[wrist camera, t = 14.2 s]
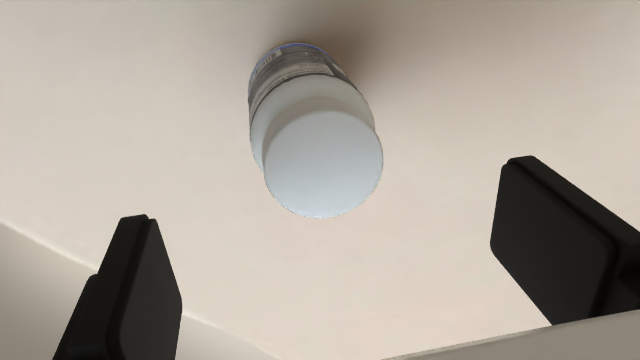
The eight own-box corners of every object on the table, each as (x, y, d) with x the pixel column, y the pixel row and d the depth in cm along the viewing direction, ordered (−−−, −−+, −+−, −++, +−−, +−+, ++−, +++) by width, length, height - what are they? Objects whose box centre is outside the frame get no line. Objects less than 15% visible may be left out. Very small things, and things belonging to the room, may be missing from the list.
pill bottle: (350, 121, 22) (402, 210, 15) (262, 143, 22) (273, 244, 15) (333, 29, 20) (387, 82, 13) (235, 53, 20) (232, 121, 12)
